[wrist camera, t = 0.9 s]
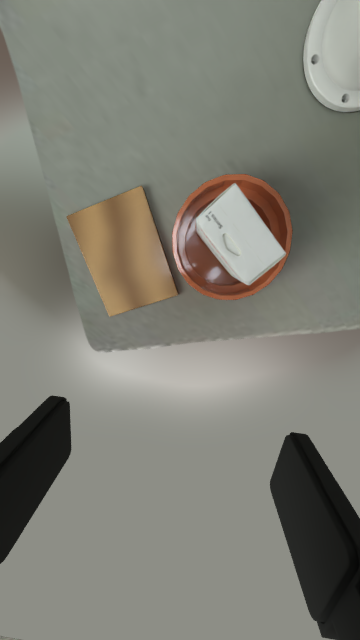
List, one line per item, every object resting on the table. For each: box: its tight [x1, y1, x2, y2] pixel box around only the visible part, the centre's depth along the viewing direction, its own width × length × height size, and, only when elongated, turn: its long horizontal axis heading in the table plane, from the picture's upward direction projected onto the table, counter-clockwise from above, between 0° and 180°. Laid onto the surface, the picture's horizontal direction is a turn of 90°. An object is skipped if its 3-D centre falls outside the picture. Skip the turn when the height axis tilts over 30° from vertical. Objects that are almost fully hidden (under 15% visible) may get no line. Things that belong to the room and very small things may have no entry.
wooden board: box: [66, 186, 178, 317], centre depth 33 cm, size 12×16×1 cm
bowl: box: [172, 174, 292, 300], centre depth 29 cm, size 15×15×5 cm
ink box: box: [196, 183, 286, 285], centre depth 26 cm, size 9×5×12 cm, turn 41°
